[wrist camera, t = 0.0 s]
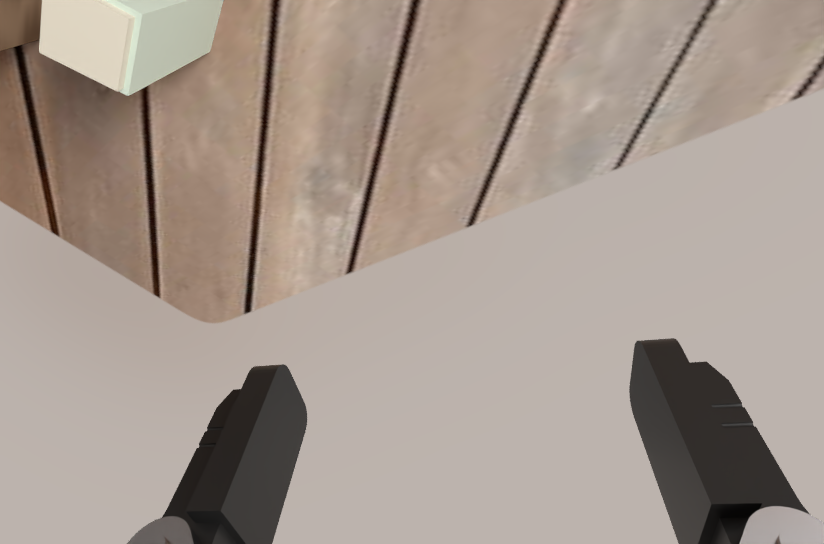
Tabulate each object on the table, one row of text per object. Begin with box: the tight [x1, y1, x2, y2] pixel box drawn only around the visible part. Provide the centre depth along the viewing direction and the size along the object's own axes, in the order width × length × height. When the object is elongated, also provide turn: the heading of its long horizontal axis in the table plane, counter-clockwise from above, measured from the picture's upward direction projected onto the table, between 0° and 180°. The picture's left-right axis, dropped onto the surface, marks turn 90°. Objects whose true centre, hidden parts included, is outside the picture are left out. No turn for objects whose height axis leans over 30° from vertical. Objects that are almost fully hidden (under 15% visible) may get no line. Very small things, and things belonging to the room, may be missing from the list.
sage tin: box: [39, 0, 224, 96], centre depth 29 cm, size 5×5×12 cm
